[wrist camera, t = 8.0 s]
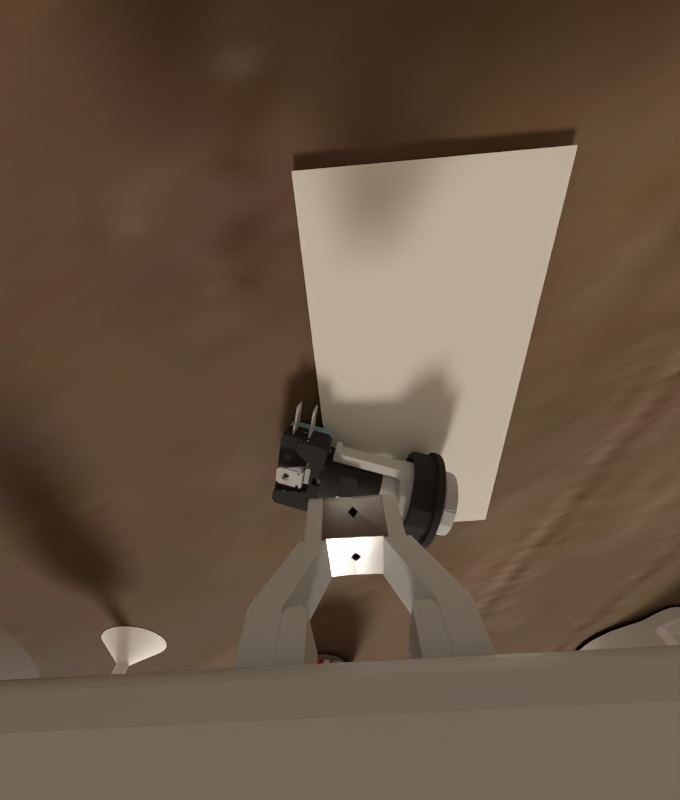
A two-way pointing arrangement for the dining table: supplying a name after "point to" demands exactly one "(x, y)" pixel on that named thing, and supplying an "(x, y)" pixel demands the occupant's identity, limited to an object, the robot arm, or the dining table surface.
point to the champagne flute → (131, 645)
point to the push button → (365, 478)
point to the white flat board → (428, 300)
